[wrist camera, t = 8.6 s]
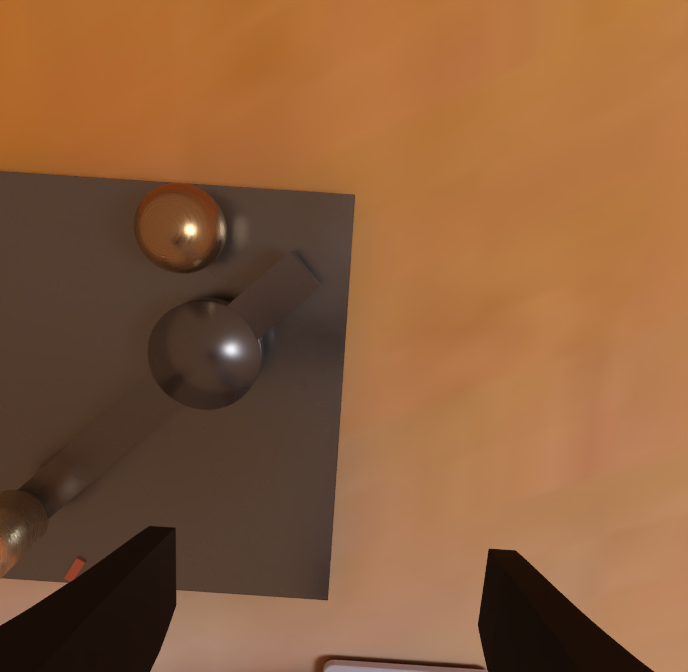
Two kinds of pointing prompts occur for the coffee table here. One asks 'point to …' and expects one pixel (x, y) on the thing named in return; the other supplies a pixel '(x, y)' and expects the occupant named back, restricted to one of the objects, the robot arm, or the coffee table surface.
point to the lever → (162, 393)
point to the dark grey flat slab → (132, 367)
